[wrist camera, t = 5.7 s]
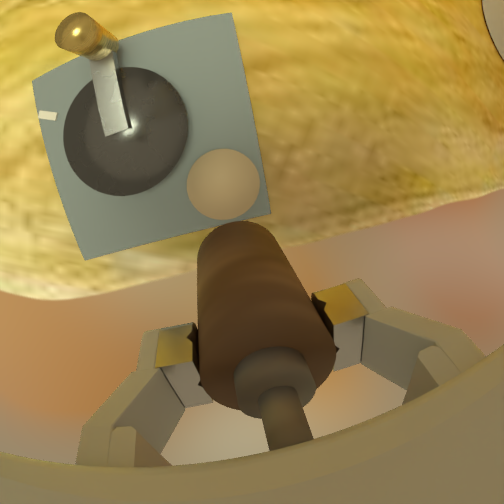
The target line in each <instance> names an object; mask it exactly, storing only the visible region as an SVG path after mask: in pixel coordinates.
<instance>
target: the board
mask: <svg viewBox="0 0 504 504" xmlns="http://www.w3.org/2000/svg"><path fill="white" fill-rule="evenodd" d="M118 42H119V48H118V51H117V59H118V64H119V68H122V67H138V68H144V69H148V70H150V71H153V72H155V73H157V74H159V75H160V76H162V77H164V78H165V79H166V80H167V81H168V82H170V83H171V84H172V85H173V86H174V87H175V89H176V90H177V91H178V92H179V94H180V95H181V97H182V99H183V101H184V103H185V105H186V109H187V112H188V118H189V132H188V139H187V143H186V146H185V149H184V151H183V153H182V155H181V157H180V159H179V161H178V162H177V164H176V165H175V167H174V168H173V170H172V171H171V172H170V173H169V174H168V175H167V176H166V177H165V178H164V179H163V180H162V181H161V182H160V183H158V184H157V185H155V186H154V187H152V188H150V189H148V190H146V191H144V192H141V193H138V194H134V195H129V196H113V195H107V194H104V193H101V192H98V191H96V190H94V189H92V188H91V187H89V186H88V185H86V184H85V183H84V182H83V181H81V180H80V178H79V177H78V176H77V175H76V174H75V172H74V171H73V169H72V168H71V166H70V164H69V162H68V160H67V157H66V154H65V149H64V142H63V130H64V123H65V119H66V115H67V112H68V110H69V108H70V105H71V104H72V102H73V100H74V98H75V97H76V96H77V94H78V93H79V92H80V90H81V89H82V88H83V87H84V86H85V85H86V84H87V83H89V82H90V81H91V80H92V74H91V68H90V62H89V59H87V58H85V57H82V56H80V57H77V58H75V59H73V60H71V61H69V62H67V63H65V64H63V65H61V66H59V67H57V68H55V69H53V70H51V71H49V72H47V73H45V74H44V75H42V76H40V77H38V78H36V79H35V80H33V81H32V84H33V90H34V96H35V102H36V107H37V112H38V118H39V122H40V127H41V131H42V135H43V139H44V144H45V147H46V151H47V155H48V159H49V162H50V166H51V169H52V173H53V176H54V179H55V182H56V186H57V189H58V192H59V195H60V198H61V201H62V204H63V207H64V209H65V212H66V215H67V218H68V220H69V223H70V226H71V228H72V231H73V233H74V236H75V238H76V241H77V243H78V246H79V248H80V250H81V253H82V255H83V257H84V260H89V259H92V258H96V257H99V256H103V255H107V254H110V253H114V252H118V251H121V250H125V249H129V248H133V247H136V246H140V245H144V244H148V243H152V242H156V241H159V240H163V239H167V238H171V237H175V236H179V235H183V234H187V233H191V232H195V231H199V230H203V229H207V228H212V227H216V226H220V225H224V224H226V223H230V222H235V221H241V220H246V219H250V218H254V217H259V216H263V215H268V214H271V210H270V204H269V198H268V193H267V187H266V181H265V176H264V170H263V165H262V159H261V154H260V149H259V143H258V138H257V133H256V128H255V122H254V117H253V112H252V107H251V102H250V97H249V92H248V87H247V82H246V77H245V72H244V68H243V63H242V58H241V53H240V49H239V44H238V39H237V35H236V30H235V26H234V21H233V17H232V13H226V14H219V15H213V16H208V17H203V18H197V19H193V20H188V21H184V22H179V23H175V24H171V25H167V26H164V27H160V28H156V29H153V30H149V31H146V32H143V33H140V34H136V35H133V36H130V37H127V38H125V39H122V40H119V41H118Z"/></svg>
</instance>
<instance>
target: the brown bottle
mask: <svg viewBox="0 0 504 504" xmlns="http://www.w3.org/2000/svg"><path fill="white" fill-rule="evenodd" d="M197 305H198V347H199V372H200V381H201V384H202V387H203V389H204V390H205V392H206V393H207V394H208V395H209V396H210V397H211V398H212V399H213V400H215V401H216V402H218V403H220V404H222V405H224V406H226V407H229V408H232V409H237V410H241V411H242V412H243V413H245V414H246V415H248V416H251V417H254V418H260V419H262V421H263V425H264V430H265V434H266V438H267V442H268V446H269V450H270V451H272V450H276V449H280V448H284V447H288V446H292V445H296V444H299V443H303V442H306V441H310V440H313V436H312V433H311V430H310V427H309V425H308V422H307V419H306V416H305V413H304V410H303V408H302V407H304V406H305V405H306V404H307V403H308V402H309V401H310V400H311V399H312V398H313V396H314V394H315V391H316V389H317V388H318V387H319V386H320V385H321V384H322V383H323V382H324V381H325V380H326V379H327V377H328V376H329V374H330V373H331V371H332V369H333V367H334V364H335V361H336V346H335V343H334V341H333V339H332V337H331V335H330V333H329V332H328V330H327V328H326V326H325V325H324V323H323V321H322V319H321V317H320V316H319V314H318V312H317V310H316V308H315V307H314V305H313V303H312V301H311V300H310V298H309V296H308V295H307V293H306V291H305V289H304V287H303V286H302V284H301V282H300V280H299V279H298V277H297V275H296V273H295V272H294V270H293V268H292V267H291V265H290V263H289V261H288V260H287V258H286V256H285V255H284V253H283V251H282V249H281V248H280V246H279V244H278V243H277V241H276V239H275V237H274V236H273V235H272V234H271V233H270V232H269V231H268V230H267V229H266V228H264V227H262V226H260V225H259V224H256V223H253V222H248V221H235V222H230V223H226V224H224V225H221V226H219V227H218V228H216V229H214V230H213V231H212V232H211V233H210V234H209V235H208V236H207V237H206V238H205V239H204V241H203V242H202V244H201V246H200V249H199V252H198V258H197Z"/></svg>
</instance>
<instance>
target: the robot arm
mask: <svg viewBox="0 0 504 504" xmlns="http://www.w3.org/2000/svg"><path fill="white" fill-rule="evenodd" d="M483 11H484V15H485V19H486V23H487V26H488V29H489V32H490V34H491V37H492V39H493V41H494V43H495V46H496V48H497V49H498V51H499V53H500V55H501V56H502V58H503V60H504V0H483ZM311 297H312V298H311V300H312V303H313V305H314V307H315V308H316V310H317V312H318V314H319V316H320V317H321V319H322V321H323V323H324V325H325V326H326V328H327V330H328V332H329V333H330V335H331V337H332V339H333V341H334V343H335V346H336V361H335V364H334V367H333V370H334V371H337V370H340V369H343V368H347V367H350V366H352V365H356V364H359V363H361V364H362V365H364V366H366V367H367V368H369V369H371V370H372V371H374V372H376V373H377V374H379V375H381V376H383V377H384V378H386V379H388V380H390V381H391V382H393V383H395V384H397V385H398V386H400V387H402V388H404V389H405V390H407V392H406V395H405V398H404V401H403V404H402V406H399V407H397V408H395V409H393V410H390V411H388V412H386V413H384V414H381V415H379V416H377V417H374V418H372V419H369V420H367V421H365V422H362V423H359V424H357V425H354V426H351V427H349V428H346V429H343V430H340V431H337V432H335V433H332V434H329V435H326V436H322V437H319V438H316V439H313V440H310V441H306V442H303V443H299V444H296V445H292V446H288V447H284V448H280V449H276V450H272V451H268V452H263V453H259V454H254V455H249V456H244V457H238V458H233V459H227V460H221V461H214V462H206V463H197V464H189V465H176V466H172V465H171V464H170V463H169V462H168V461H167V460H166V459H165V458H163V457H162V456H161V455H160V454H161V452H162V450H163V449H164V447H165V445H166V443H167V442H168V440H169V438H170V436H171V434H172V433H173V431H174V429H175V427H176V426H177V424H178V422H179V420H180V418H181V417H182V415H183V413H184V411H185V408H187V407H193V406H198V405H204V404H208V403H213V399H212V398H211V397H210V396H209V395H208V394H207V393H206V392H205V390H204V389H203V387H202V384H201V381H200V372H199V347H198V329H197V327H196V325H195V323H193V322H192V323H187V324H182V325H177V326H172V327H166V328H161V329H156V330H150V331H146V332H145V333H144V334H143V337H142V342H141V347H140V353H139V358H138V365H137V370H136V372H131V374H130V375H129V376H128V377H127V378H126V379H125V380H124V381H123V382H122V383H121V385H120V386H119V387H118V388H117V389H116V390H115V391H114V392H113V393H112V395H111V396H110V397H109V398H108V399H107V400H106V401H105V402H104V403H103V405H102V406H101V407H100V408H99V409H98V410H97V411H96V412H95V413H94V414H93V416H92V417H91V418H90V419H89V420H88V421H87V422H86V423H85V425H84V426H83V428H82V432H81V437H80V442H79V448H78V453H77V458H76V464H75V465H73V464H64V463H56V462H50V461H42V460H37V459H32V458H27V457H21V456H17V455H13V454H8V453H4V452H0V504H504V344H503V345H502V346H501V347H499V348H498V349H497V350H495V351H494V352H492V353H491V354H489V355H488V356H487V357H486V356H485V355H484V354H483V352H482V351H481V350H480V349H479V348H478V347H477V346H476V345H475V344H474V343H473V342H472V340H471V339H470V338H469V337H468V336H467V335H466V334H465V333H464V332H463V331H462V330H461V329H458V328H455V327H452V326H449V325H446V324H443V323H440V322H437V321H434V320H431V319H428V318H425V317H421V316H418V315H415V314H412V313H409V312H406V311H403V310H400V309H397V308H394V307H389V308H386V307H385V305H384V304H383V303H382V302H381V301H380V300H379V299H378V298H377V296H376V295H375V294H374V293H373V292H372V291H371V290H370V288H369V287H368V286H367V285H366V284H365V283H364V282H363V281H362V280H361V279H359V278H358V279H355V280H352V281H349V282H346V283H344V284H341V285H338V286H335V287H331V288H328V289H325V290H321V291H318V292H314V293H312V296H311Z"/></svg>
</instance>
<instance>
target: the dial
mask: <svg viewBox="0 0 504 504" xmlns="http://www.w3.org/2000/svg"><path fill="white" fill-rule="evenodd" d="M55 42H56V44H57V45H58V46H59V47H60V48H62V49H65V50H67V51H70V52H72V53H75V54H77V55H80V56H82V57H85V58H87V59H89V62H90V68H91V74H92V80H91V81H90V82H89V83H87V84H86V85H85V86H84V87H83V88H82V89H81V90H80V92H79V93H78V94H77V96H76V97H75V98H74V100H73V102H72V104H71V105H70V108H69V110H68V112H67V115H66V119H65V123H64V130H63V142H64V149H65V154H66V157H67V160H68V162H69V164H70V166H71V168H72V169H73V171H74V172H75V174H76V175H77V176H78V177H79V178H80V180H81V181H83V182H84V183H85V184H86V185H88V186H89V187H91V188H92V189H94V190H96V191H98V192H101V193H104V194H107V195H113V196H129V195H134V194H138V193H141V192H144V191H146V190H148V189H150V188H152V187H154V186H155V185H157V184H158V183H160V182H161V181H162V180H163V179H164V178H165V177H166V176H167V175H168V174H169V173H170V172H171V171H172V170H173V168H174V167H175V165H176V164H177V162H178V161H179V159H180V157H181V155H182V153H183V151H184V149H185V146H186V143H187V139H188V132H189V118H188V112H187V109H186V105H185V103H184V101H183V99H182V97H181V95H180V94H179V92H178V91H177V90H176V89H175V87H174V86H173V85H172V84H171V83H170V82H168V81H167V80H166V79H165V78H164V77H162V76H160V75H159V74H157V73H155V72H153V71H150V70H148V69H144V68H138V67H122V68H119V64H118V59H117V51H118V48H119V42H118V40H117V38H116V37H115V36H114V35H112V34H111V33H110V32H109V31H107V30H106V29H105V28H104V27H102V26H101V25H100V24H99V23H97V22H96V21H95V20H93V19H92V18H91V17H90V16H88V15H87V14H85V13H81V12H78V13H74V14H71V15H69V16H68V17H66V18H65V19H64V20H63V21H62V22H61V23H60V25H59V26H58V28H57V30H56V33H55Z"/></svg>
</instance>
